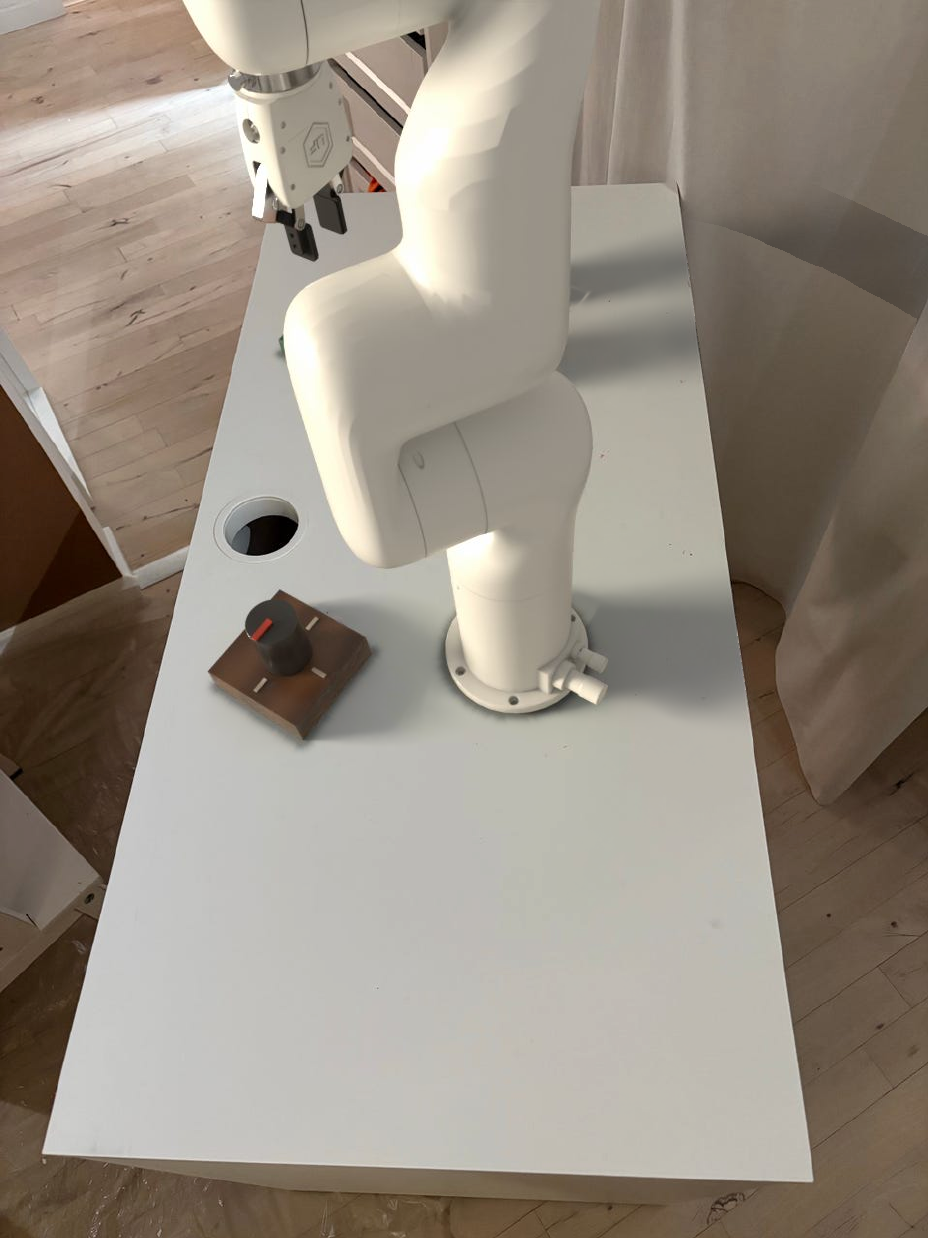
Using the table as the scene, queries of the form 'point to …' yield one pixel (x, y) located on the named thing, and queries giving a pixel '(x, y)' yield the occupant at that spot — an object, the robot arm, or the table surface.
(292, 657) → the dial
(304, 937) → the table surface
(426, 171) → the robot arm
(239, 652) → the dial base
